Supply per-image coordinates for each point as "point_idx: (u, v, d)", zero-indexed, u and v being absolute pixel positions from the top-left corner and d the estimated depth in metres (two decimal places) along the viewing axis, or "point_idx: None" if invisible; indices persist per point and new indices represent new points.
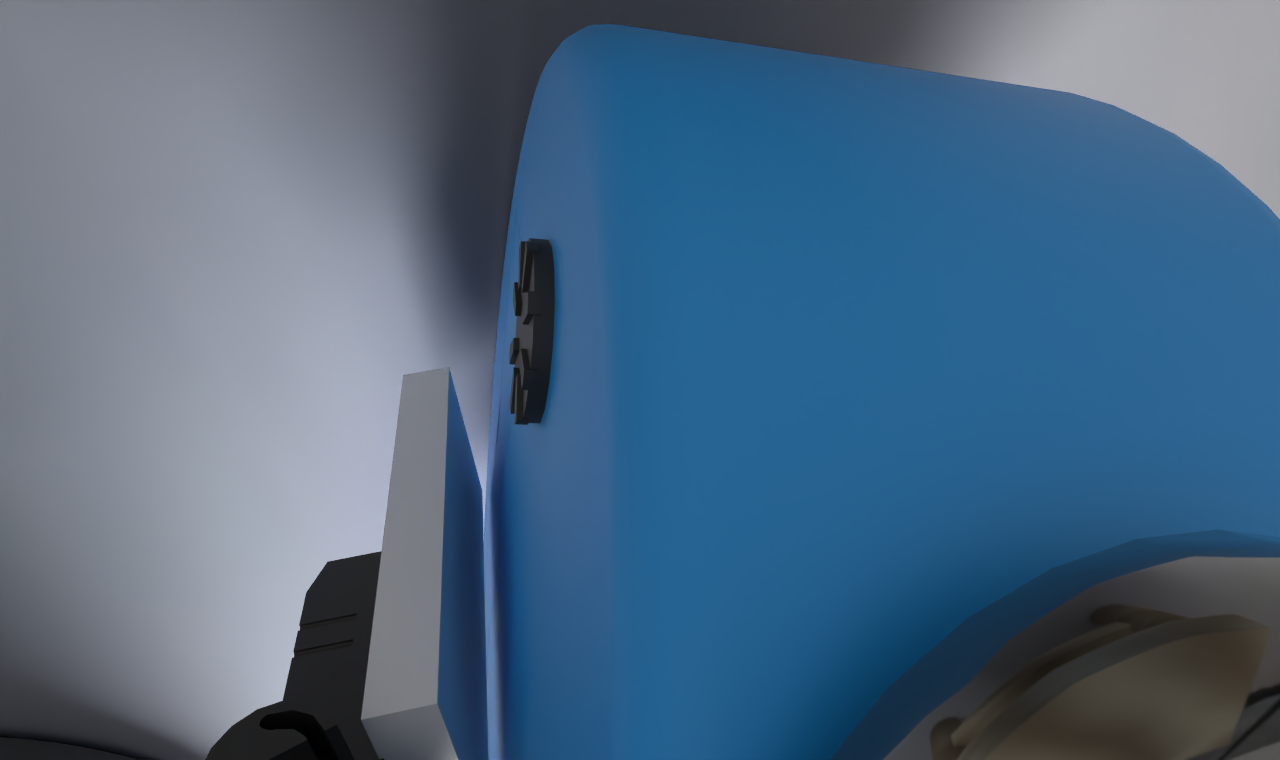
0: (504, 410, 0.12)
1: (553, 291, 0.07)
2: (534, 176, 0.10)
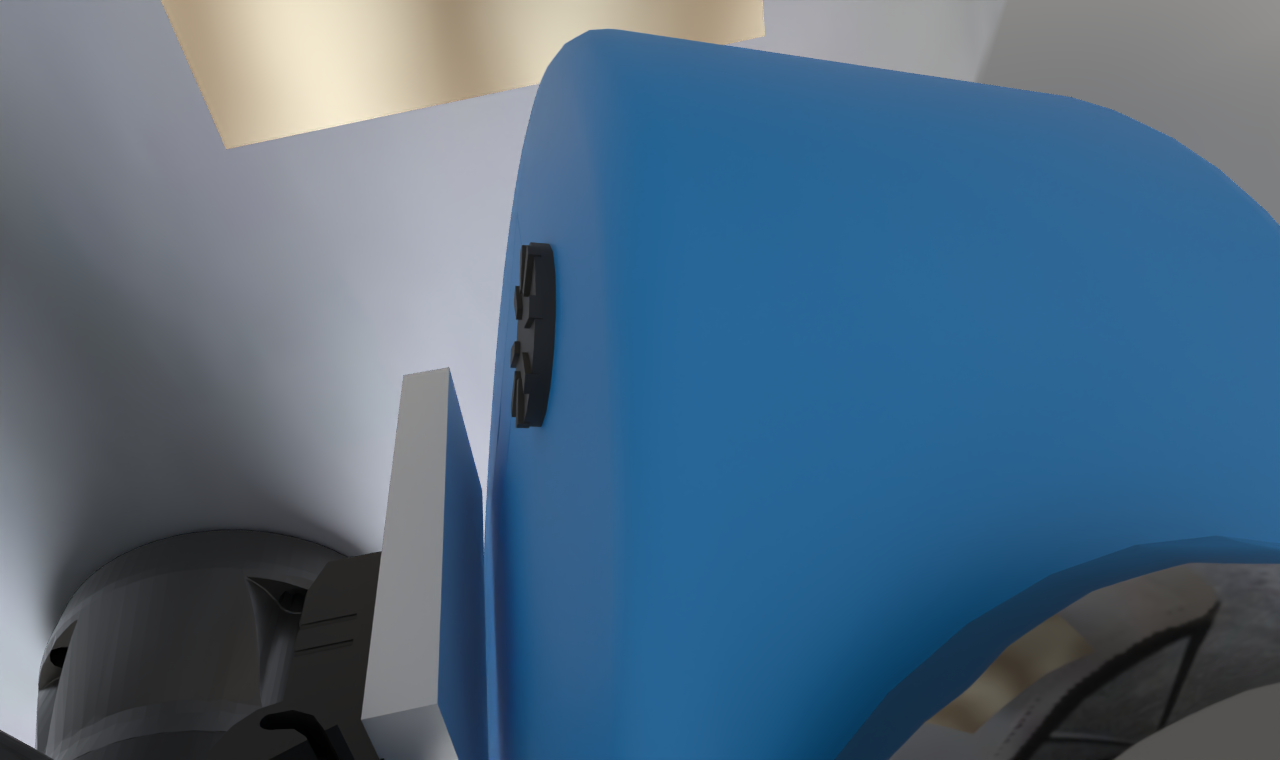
0: (505, 412, 0.12)
1: (554, 295, 0.07)
2: (535, 179, 0.10)
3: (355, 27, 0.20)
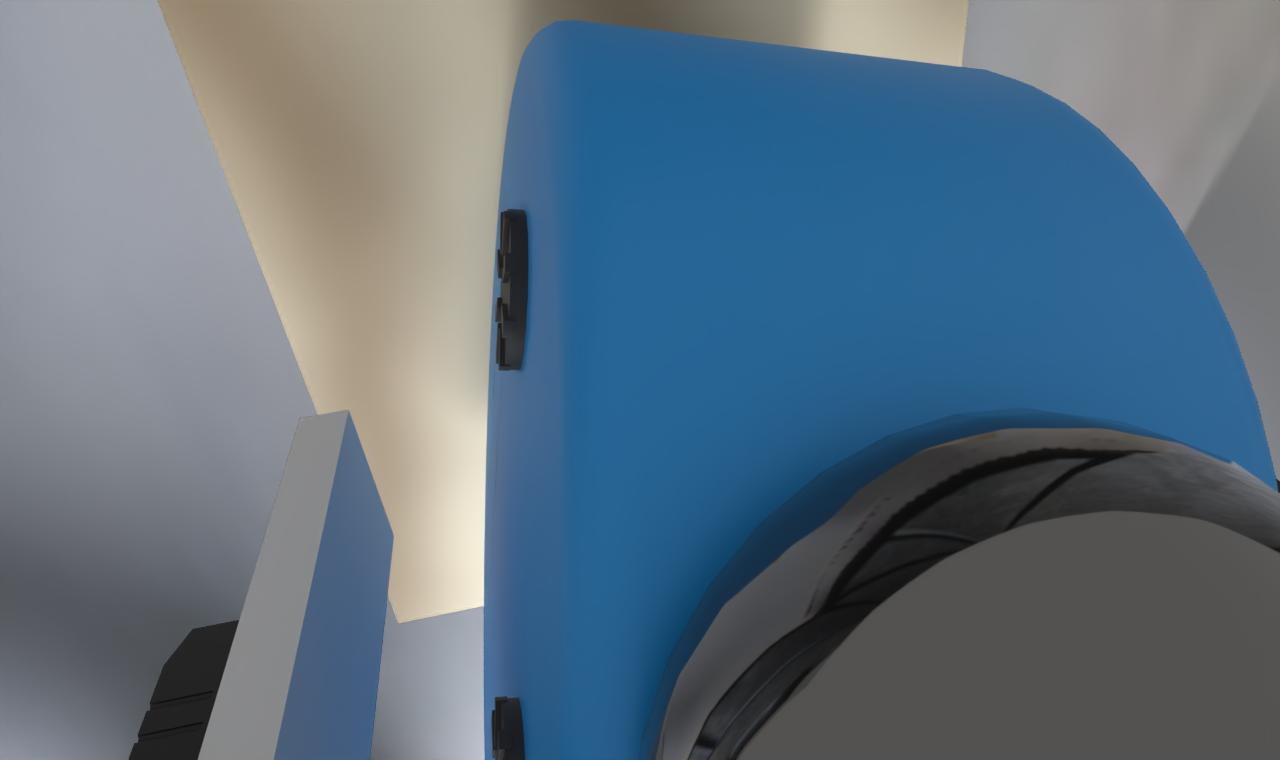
0: (497, 372, 0.14)
1: (527, 252, 0.09)
2: (515, 156, 0.11)
3: None
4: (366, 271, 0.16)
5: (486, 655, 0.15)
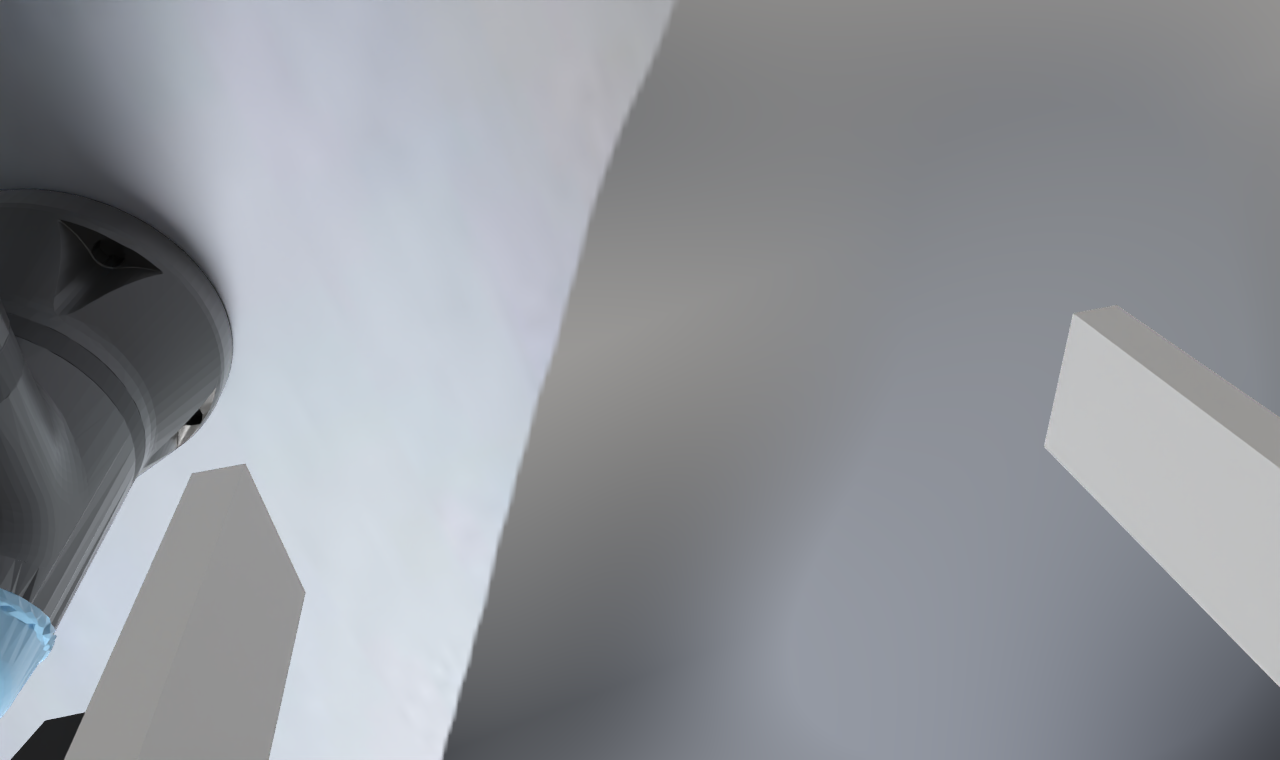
0: None
1: None
2: None
3: None
4: None
5: None
